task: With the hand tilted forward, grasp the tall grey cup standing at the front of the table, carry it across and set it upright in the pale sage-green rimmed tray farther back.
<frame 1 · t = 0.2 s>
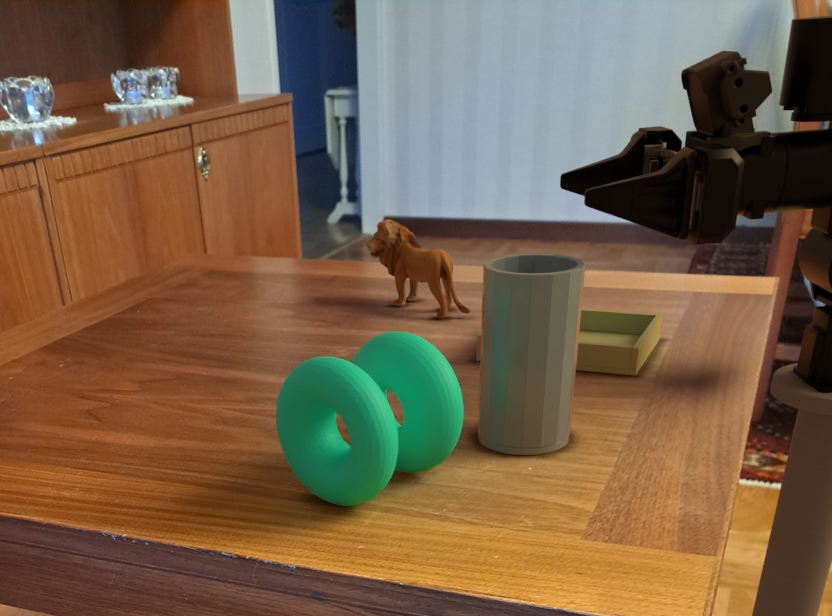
hand: (572, 189, 75), 16 cm above the table, tool horizontal, fingers open, 9 cm apart
tray: (569, 350, 93), on the table
lion figurine: (417, 309, 109), on the table
donuts: (372, 488, 67), on the table
cup: (523, 438, 74), on the table
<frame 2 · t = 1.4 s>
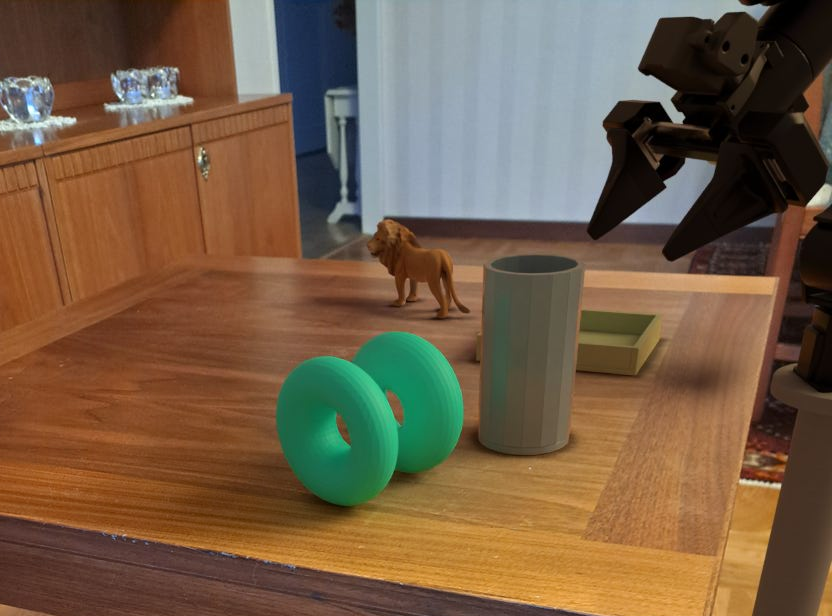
hand: (626, 246, 69), 13 cm above the table, tool tilted 45°, fingers open, 9 cm apart
nothing on the table moved.
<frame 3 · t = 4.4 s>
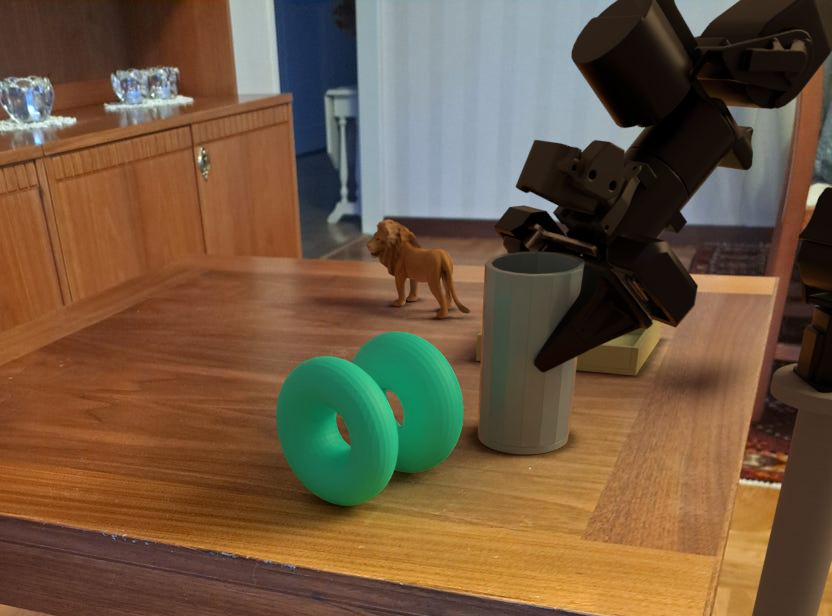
hand: (511, 355, 70), 7 cm above the table, tool tilted 45°, fingers closed on cup, 7 cm apart
cup: (522, 436, 74), on the table, touching gripper
everything else where it was.
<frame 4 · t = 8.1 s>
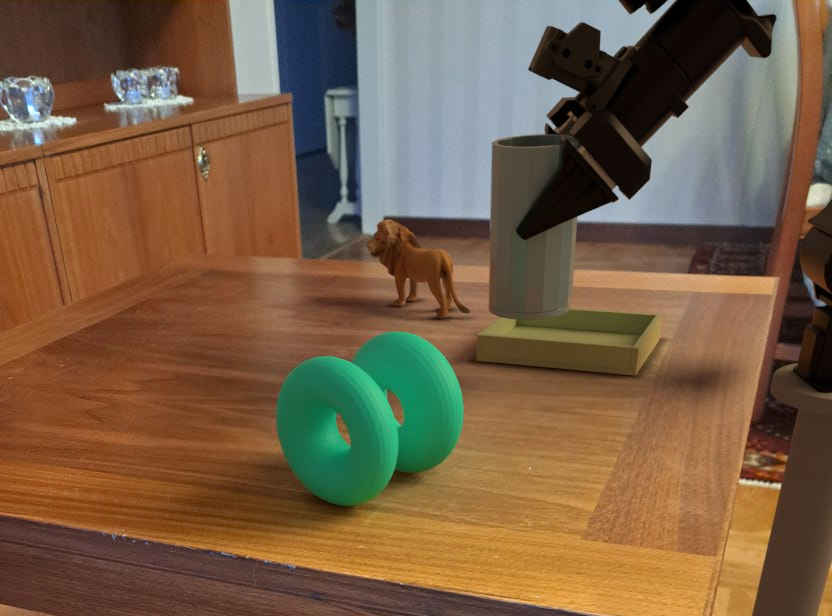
hand: (515, 227, 78), 13 cm above the table, tool tilted 45°, fingers closed on cup, 7 cm apart
cup: (529, 308, 82), point 6 cm above the table, touching gripper
everything else where it was.
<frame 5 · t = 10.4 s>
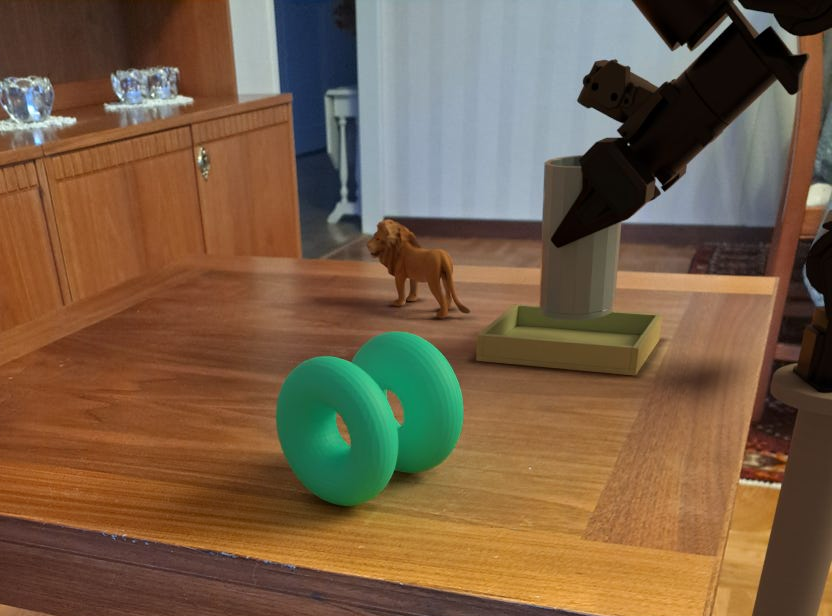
hand: (565, 236, 88), 10 cm above the table, tool tilted 45°, fingers closed on cup, 7 cm apart
cup: (576, 310, 91), point 4 cm above the table, touching gripper
everything else where it was.
when the fingers open (7 cm above the table, at t = 12.0 s): cup stays where it is, resting on tray.
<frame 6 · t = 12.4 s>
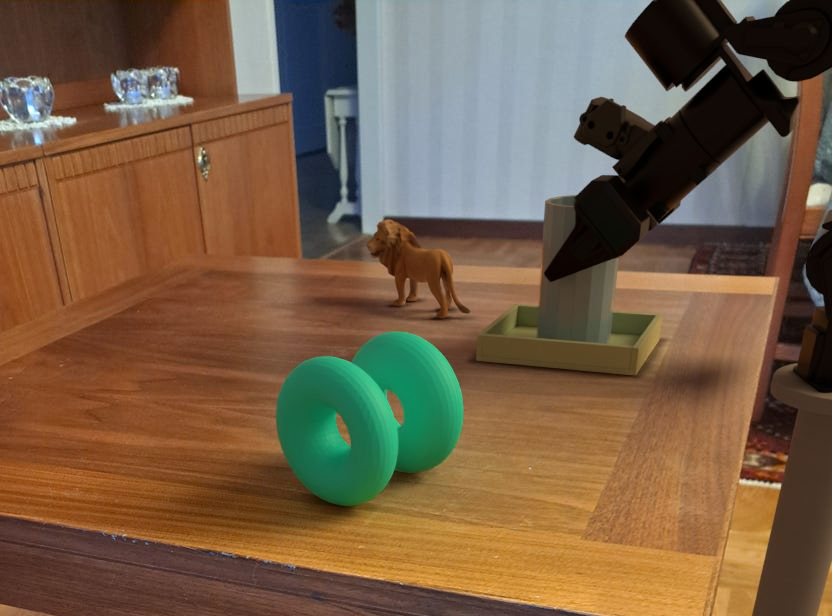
hand: (561, 267, 89), 8 cm above the table, tool tilted 45°, fingers open, 9 cm apart
cup: (572, 344, 93), point 1 cm above the table, touching tray
everything else where it was.
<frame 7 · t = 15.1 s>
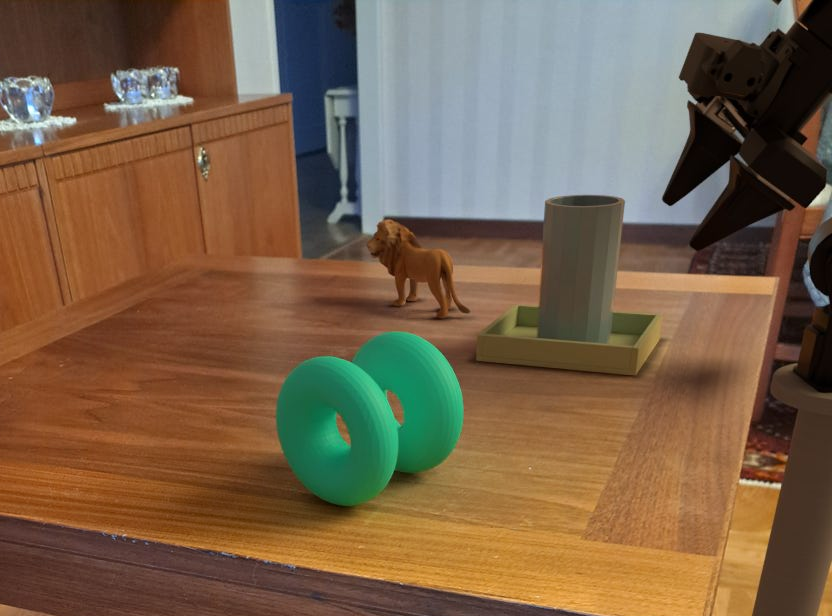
hand: (678, 224, 81), 12 cm above the table, tool tilted 35°, fingers open, 9 cm apart
nothing on the table moved.
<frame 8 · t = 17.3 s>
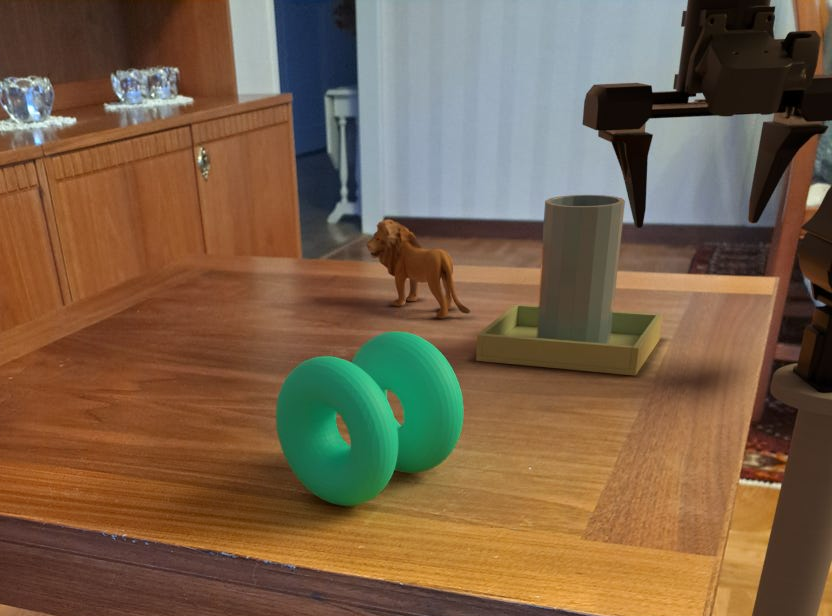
hand: (695, 224, 76), 13 cm above the table, tool pointing down, fingers open, 9 cm apart
nothing on the table moved.
at the end: cup inside the target area in the tray (0.2 cm from its centre), point 0.5 cm above the tray's base; cup tilted 0°; the gripper is holding nothing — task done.
